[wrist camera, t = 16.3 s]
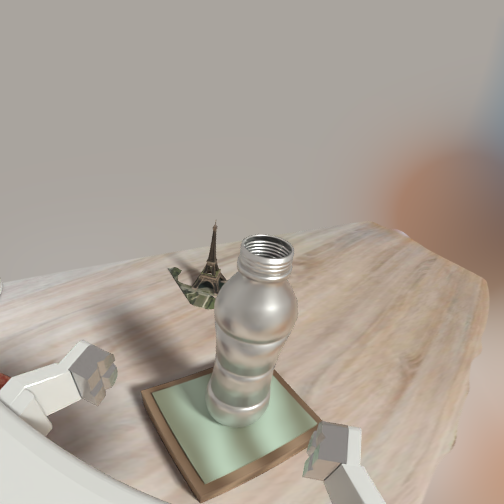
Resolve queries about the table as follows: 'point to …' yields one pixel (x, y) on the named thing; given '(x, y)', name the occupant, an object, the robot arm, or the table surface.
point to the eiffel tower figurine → (204, 281)
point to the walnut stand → (226, 433)
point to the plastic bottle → (251, 330)
